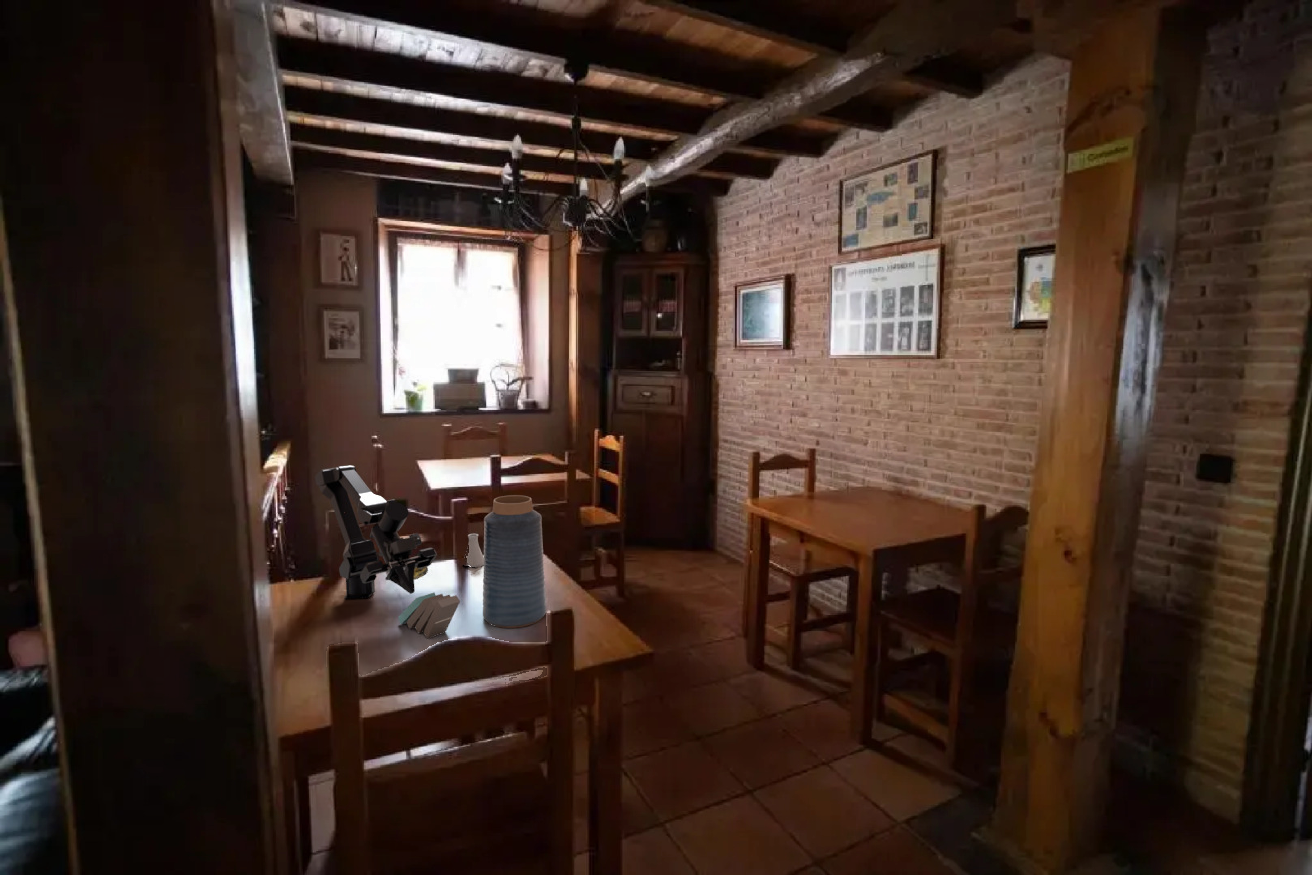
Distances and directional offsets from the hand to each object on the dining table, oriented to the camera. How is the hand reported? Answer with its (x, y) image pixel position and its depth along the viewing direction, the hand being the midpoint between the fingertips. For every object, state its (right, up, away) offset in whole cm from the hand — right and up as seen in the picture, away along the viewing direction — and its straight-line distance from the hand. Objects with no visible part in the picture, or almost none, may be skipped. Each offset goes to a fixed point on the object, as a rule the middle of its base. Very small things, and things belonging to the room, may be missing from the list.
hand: (412, 592), depth 166 cm
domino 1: (+1, -8, 0) cm, 8 cm away
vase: (+25, -8, +6) cm, 27 cm away
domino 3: (+7, -9, -5) cm, 12 cm away
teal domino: (-2, -7, +3) cm, 8 cm away
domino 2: (+4, -8, -3) cm, 9 cm away
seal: (-15, -3, +39) cm, 42 cm away
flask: (+3, -2, +47) cm, 47 cm away
